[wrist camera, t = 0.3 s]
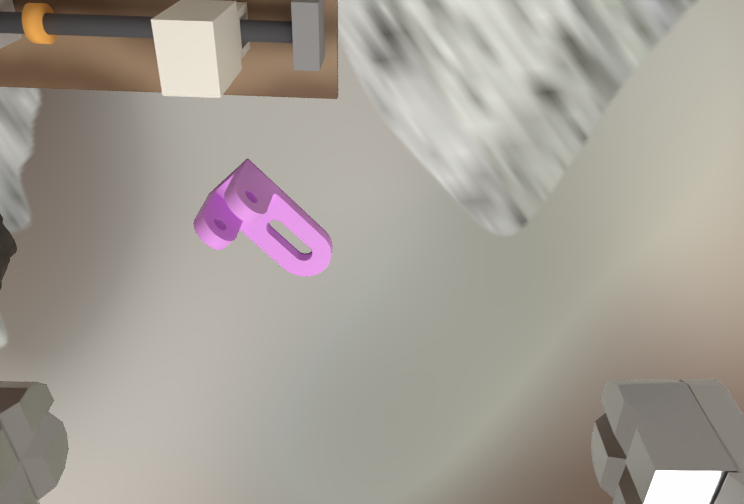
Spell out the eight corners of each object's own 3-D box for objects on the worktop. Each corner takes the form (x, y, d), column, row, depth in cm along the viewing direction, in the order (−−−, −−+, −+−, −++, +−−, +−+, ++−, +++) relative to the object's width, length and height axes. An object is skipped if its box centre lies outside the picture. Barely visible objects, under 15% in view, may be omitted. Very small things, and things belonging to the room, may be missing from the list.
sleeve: (194, -10, 49) (150, 19, 41) (246, -8, 49) (212, 21, 40) (202, 55, 52) (162, 95, 43) (251, 57, 52) (220, 97, 43)
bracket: (209, 193, 61) (188, 229, 55) (247, 158, 59) (230, 191, 53) (305, 277, 66) (295, 319, 60) (343, 248, 64) (338, 288, 58)
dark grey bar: (-37, -19, 50) (-73, -9, 47) (323, -7, 50) (317, 4, 46) (-18, 45, 53) (-50, 59, 49) (324, 57, 52) (319, 72, 49)
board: (-47, -70, 49) (-55, -68, 48) (337, -58, 49) (336, -56, 48) (-2, 82, 56) (-8, 86, 55) (338, 95, 55) (337, 98, 54)
